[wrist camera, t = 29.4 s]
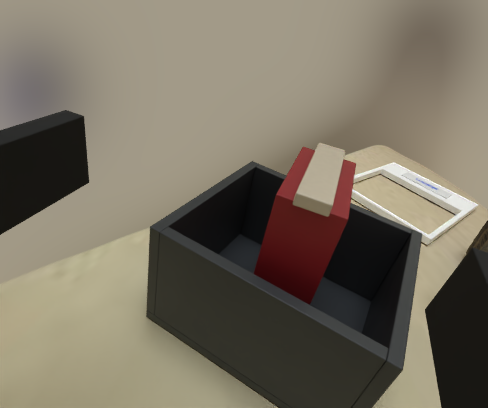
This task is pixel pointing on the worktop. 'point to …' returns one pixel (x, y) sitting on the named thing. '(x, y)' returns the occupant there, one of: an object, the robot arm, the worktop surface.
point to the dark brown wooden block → (481, 240)
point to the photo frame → (422, 188)
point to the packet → (307, 221)
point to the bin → (284, 297)
